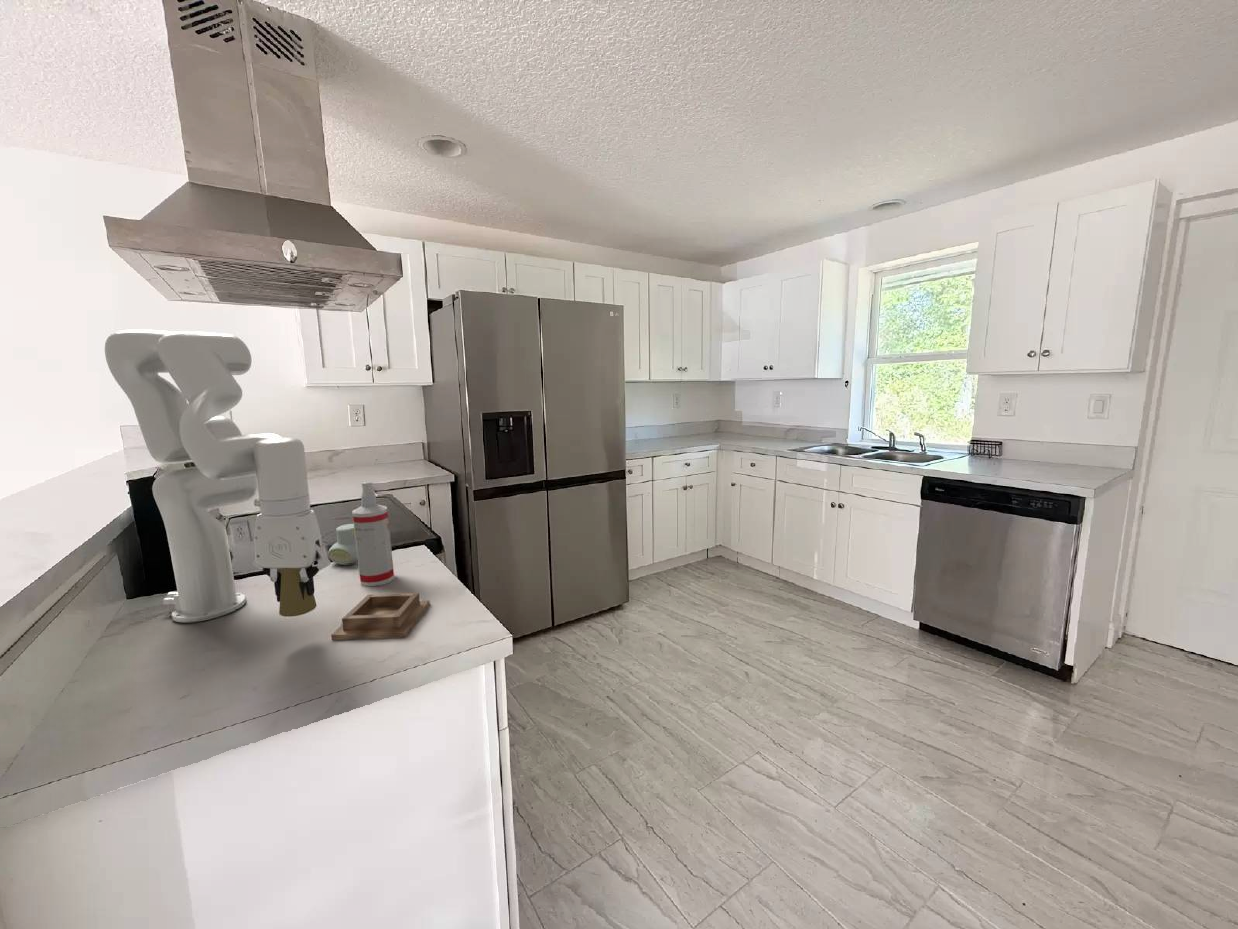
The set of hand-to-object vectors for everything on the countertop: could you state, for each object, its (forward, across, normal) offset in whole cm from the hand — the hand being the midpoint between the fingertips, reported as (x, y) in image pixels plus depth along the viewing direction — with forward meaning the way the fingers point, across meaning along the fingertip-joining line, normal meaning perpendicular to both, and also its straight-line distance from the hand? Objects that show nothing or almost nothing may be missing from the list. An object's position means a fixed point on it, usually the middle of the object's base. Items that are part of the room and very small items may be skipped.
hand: (295, 597), depth 94 cm
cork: (+2, 0, 0) cm, 2 cm away
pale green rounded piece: (+10, -11, +42) cm, 45 cm away
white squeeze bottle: (+9, +2, +28) cm, 30 cm away
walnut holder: (+8, +13, +6) cm, 17 cm away
